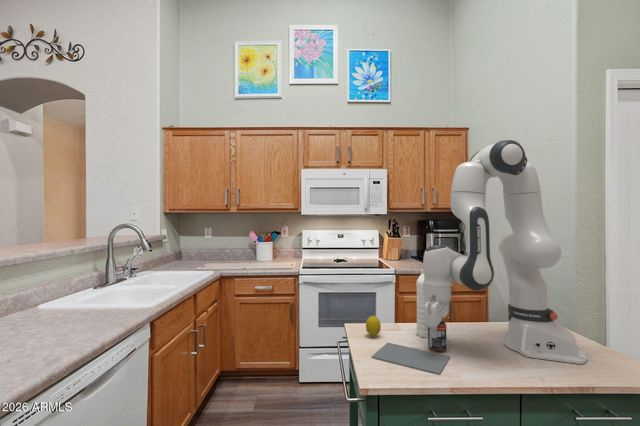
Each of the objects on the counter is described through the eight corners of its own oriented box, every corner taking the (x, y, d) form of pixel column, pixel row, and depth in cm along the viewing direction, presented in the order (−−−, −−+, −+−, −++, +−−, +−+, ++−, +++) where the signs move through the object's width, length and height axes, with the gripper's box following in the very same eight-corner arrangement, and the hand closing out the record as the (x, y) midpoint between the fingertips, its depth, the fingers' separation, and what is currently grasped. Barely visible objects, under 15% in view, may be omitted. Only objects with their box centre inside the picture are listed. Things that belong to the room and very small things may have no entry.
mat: (450, 357, 103) (450, 355, 103) (440, 375, 91) (440, 373, 91) (387, 343, 114) (387, 342, 114) (371, 357, 103) (371, 356, 103)
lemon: (363, 335, 123) (363, 314, 123) (375, 333, 125) (375, 312, 125) (370, 340, 118) (370, 318, 118) (383, 338, 120) (383, 316, 120)
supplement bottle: (431, 344, 114) (431, 312, 114) (449, 348, 110) (448, 315, 110) (425, 349, 109) (425, 316, 109) (443, 354, 105) (442, 319, 106)
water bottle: (421, 338, 119) (420, 270, 120) (414, 332, 126) (413, 268, 126) (443, 337, 120) (442, 270, 121) (435, 331, 126) (434, 267, 127)
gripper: (439, 300, 99) (439, 346, 99) (452, 288, 117) (452, 327, 116) (418, 298, 103) (419, 341, 103) (434, 286, 120) (434, 324, 120)
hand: (437, 333), depth 110 cm, fingers closed on supplement bottle, 6 cm apart
